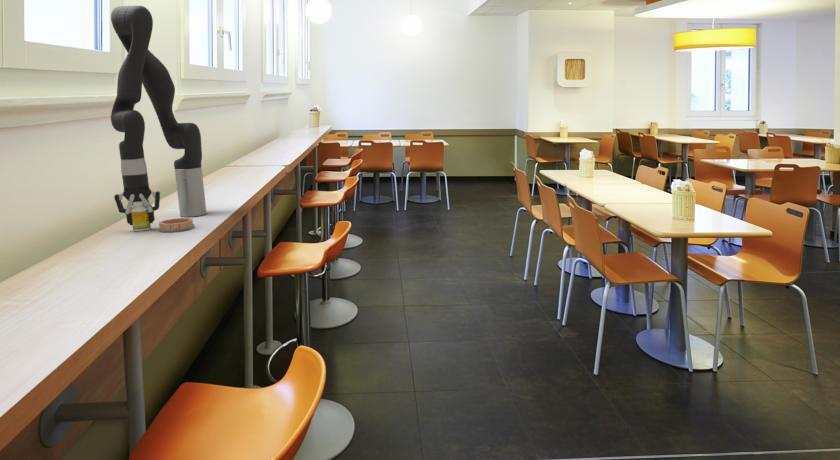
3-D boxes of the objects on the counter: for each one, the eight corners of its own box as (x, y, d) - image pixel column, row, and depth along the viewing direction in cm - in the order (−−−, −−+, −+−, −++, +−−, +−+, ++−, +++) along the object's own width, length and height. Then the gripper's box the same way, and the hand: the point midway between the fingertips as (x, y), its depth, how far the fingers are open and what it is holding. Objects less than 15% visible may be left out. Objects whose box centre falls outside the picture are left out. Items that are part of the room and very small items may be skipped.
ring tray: (160, 227, 208) (159, 219, 208) (195, 224, 211) (194, 216, 211) (157, 233, 198) (156, 225, 198) (193, 230, 201) (192, 222, 201)
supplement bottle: (133, 229, 207) (130, 200, 205) (151, 227, 209) (147, 199, 207) (132, 232, 202) (128, 203, 200) (150, 230, 204) (146, 201, 202)
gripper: (159, 170, 207) (165, 220, 211) (112, 173, 203) (119, 223, 207) (157, 172, 200) (163, 224, 204) (108, 175, 196) (115, 228, 200)
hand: (141, 223), depth 205 cm, fingers open, 5 cm apart
